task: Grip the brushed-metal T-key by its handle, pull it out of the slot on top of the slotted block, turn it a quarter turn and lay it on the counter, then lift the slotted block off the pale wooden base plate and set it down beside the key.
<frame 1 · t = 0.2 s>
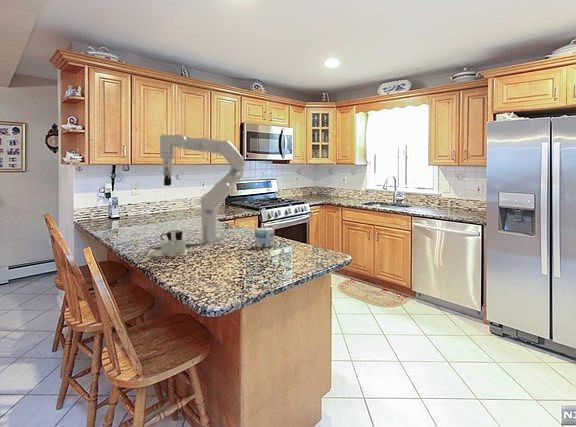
hand: (167, 185, 213), 36 cm above the countertop, tool pointing down, fingers open, 9 cm apart
light bulb box: (264, 246, 219), on the countertop
base plate: (168, 255, 192), on the countertop
slotted block: (173, 252, 193), point 1 cm above the countertop, touching base plate, t key
coffee mug: (173, 248, 210), on the countertop
t key: (173, 243, 192), point 6 cm above the countertop, touching slotted block
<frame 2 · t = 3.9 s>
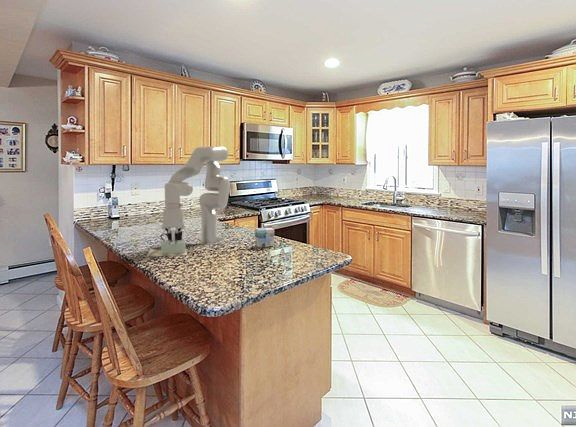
hand: (173, 239, 192), 8 cm above the countertop, tool pointing down, fingers closed on t key, 1 cm apart
slotted block: (173, 252, 193), point 1 cm above the countertop, touching base plate
t key: (173, 242, 192), point 7 cm above the countertop, touching gripper
everything else where it was.
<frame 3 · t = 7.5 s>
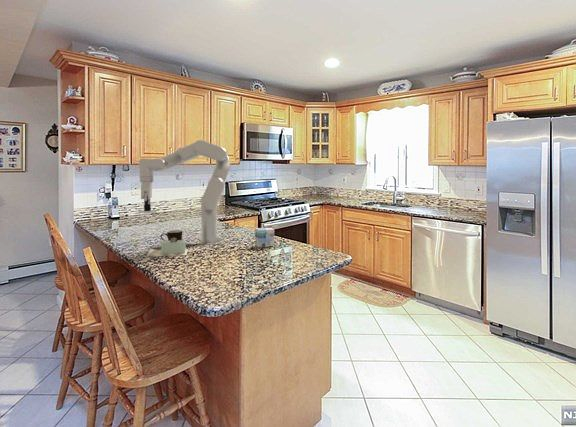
hand: (147, 210, 212), 21 cm above the countertop, tool pointing down, fingers closed on t key
t key: (147, 212, 212), point 20 cm above the countertop, touching gripper
everything else where it was.
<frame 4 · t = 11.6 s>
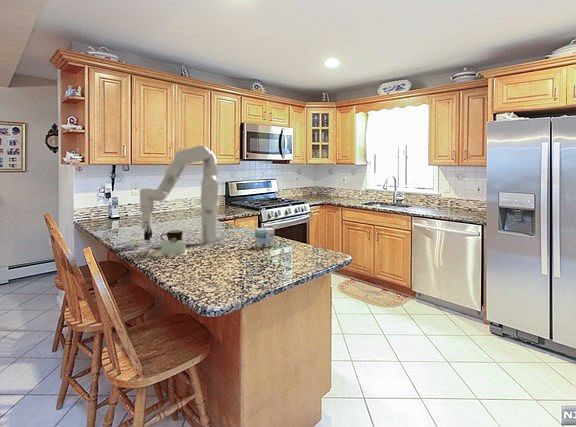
hand: (148, 238, 215), 4 cm above the countertop, tool pointing down, fingers open, 6 cm apart
t key: (148, 245, 215), on the countertop
everything else where it was.
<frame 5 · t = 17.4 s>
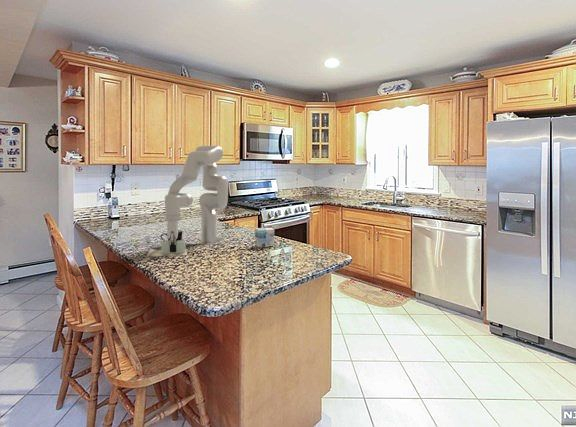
hand: (173, 250, 192), 3 cm above the countertop, tool pointing down, fingers closed on slotted block, 6 cm apart
slotted block: (173, 252, 193), point 1 cm above the countertop, touching base plate, gripper
everything else where it was.
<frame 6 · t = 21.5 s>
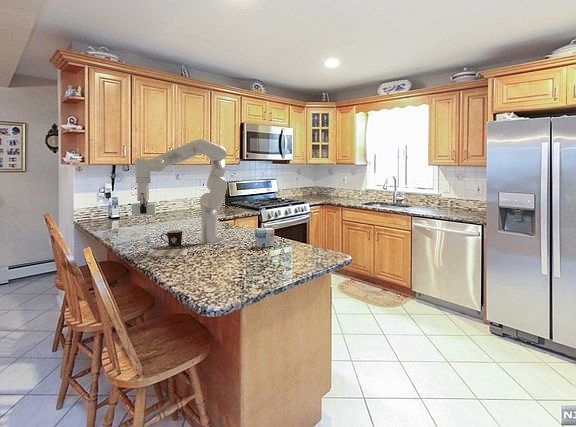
hand: (144, 212, 199), 22 cm above the countertop, tool pointing down, fingers closed on slotted block, 6 cm apart
slotted block: (144, 214, 200), point 21 cm above the countertop, touching gripper
everything else where it was.
when the fingers open (3 cm above the countertop, at t = 25.8 s): slotted block drops 2 cm, on the countertop.
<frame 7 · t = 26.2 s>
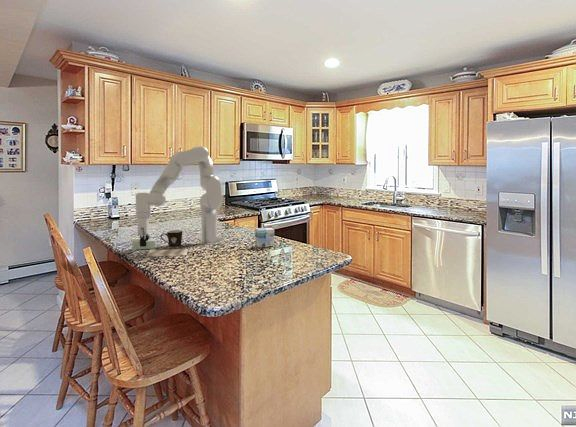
hand: (144, 244, 202), 3 cm above the countertop, tool pointing down, fingers open, 9 cm apart
slotted block: (144, 250, 203), on the countertop
everything else where it was.
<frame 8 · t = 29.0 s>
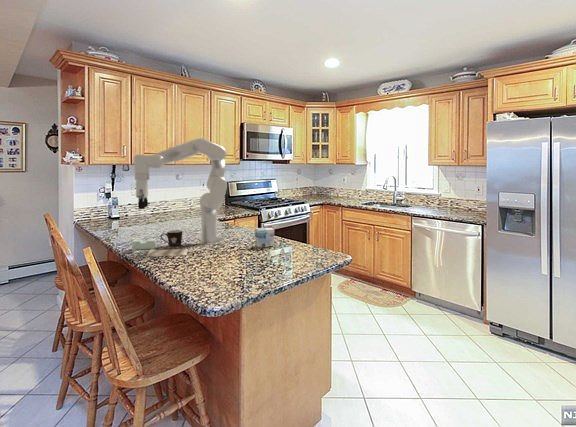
hand: (143, 207, 200), 24 cm above the countertop, tool pointing down, fingers open, 9 cm apart
nothing on the countertop moved.
at the end: t key inside the target area (0.1 cm from its centre), on the countertop; slotted block inside the target area (0.0 cm from its centre), on the countertop; slotted block tilted 0° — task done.
